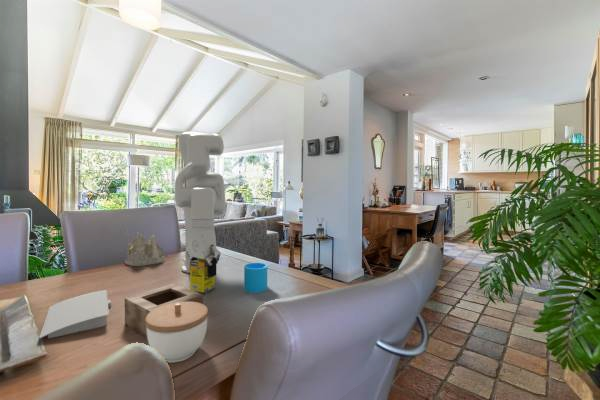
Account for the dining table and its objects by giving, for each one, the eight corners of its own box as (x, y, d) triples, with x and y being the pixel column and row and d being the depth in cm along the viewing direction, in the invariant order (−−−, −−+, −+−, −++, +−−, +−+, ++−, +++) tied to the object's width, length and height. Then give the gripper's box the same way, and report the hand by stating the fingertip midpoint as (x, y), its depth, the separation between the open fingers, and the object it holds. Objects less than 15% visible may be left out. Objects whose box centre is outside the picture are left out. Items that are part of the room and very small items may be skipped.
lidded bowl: (174, 334, 73) (173, 290, 72) (219, 343, 69) (219, 297, 68) (131, 364, 61) (130, 312, 60) (183, 376, 57) (182, 321, 56)
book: (112, 299, 95) (112, 287, 94) (117, 329, 76) (117, 314, 76) (50, 310, 86) (50, 297, 86) (38, 347, 67) (37, 331, 67)
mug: (270, 290, 103) (270, 267, 102) (246, 294, 100) (247, 270, 99) (261, 280, 114) (261, 259, 113) (239, 282, 111) (240, 261, 110)
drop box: (125, 323, 77) (124, 297, 77) (174, 306, 89) (174, 283, 88) (152, 341, 69) (152, 312, 69) (203, 319, 81) (203, 294, 80)
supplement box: (204, 295, 98) (204, 262, 97) (189, 292, 100) (189, 260, 99) (215, 289, 103) (215, 258, 103) (201, 286, 106) (201, 256, 105)
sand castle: (166, 262, 135) (164, 230, 135) (125, 268, 127) (122, 234, 127) (162, 257, 149) (160, 227, 149) (125, 262, 141) (123, 231, 140)
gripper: (178, 223, 102) (178, 272, 103) (209, 227, 92) (209, 281, 93) (196, 221, 108) (197, 267, 109) (228, 224, 98) (228, 275, 99)
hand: (202, 273), depth 101 cm, fingers open, 9 cm apart
